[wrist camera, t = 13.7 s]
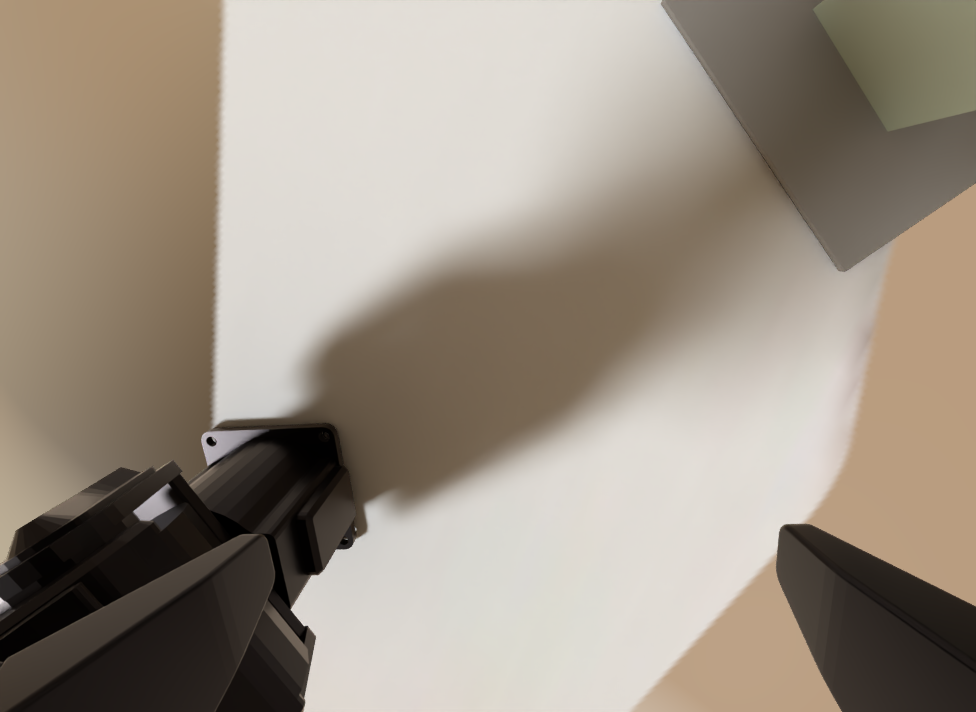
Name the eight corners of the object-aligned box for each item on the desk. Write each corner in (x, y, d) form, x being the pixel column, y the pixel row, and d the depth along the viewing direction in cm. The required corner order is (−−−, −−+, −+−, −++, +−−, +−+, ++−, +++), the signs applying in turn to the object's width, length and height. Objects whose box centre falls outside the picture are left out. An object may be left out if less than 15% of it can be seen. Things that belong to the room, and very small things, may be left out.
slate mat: (838, 270, 19) (845, 271, 19) (660, 3, 17) (663, -2, 17) (1177, 40, 16) (1192, 35, 16) (1009, -311, 14) (1022, -326, 14)
